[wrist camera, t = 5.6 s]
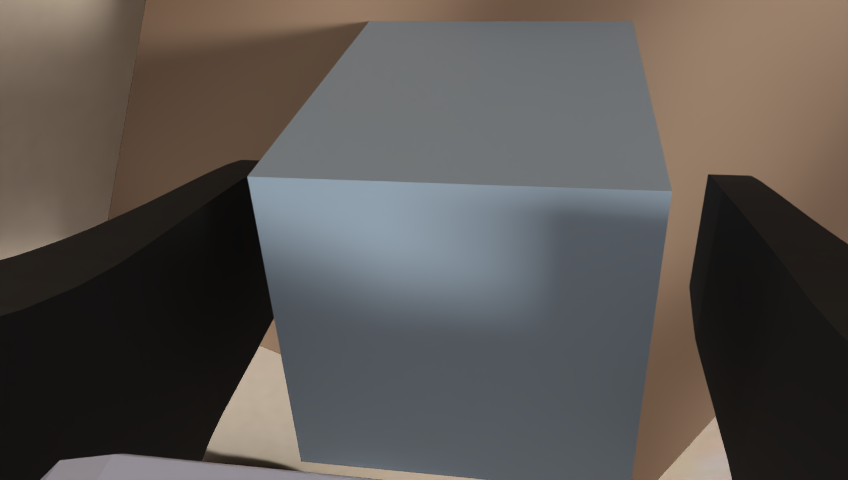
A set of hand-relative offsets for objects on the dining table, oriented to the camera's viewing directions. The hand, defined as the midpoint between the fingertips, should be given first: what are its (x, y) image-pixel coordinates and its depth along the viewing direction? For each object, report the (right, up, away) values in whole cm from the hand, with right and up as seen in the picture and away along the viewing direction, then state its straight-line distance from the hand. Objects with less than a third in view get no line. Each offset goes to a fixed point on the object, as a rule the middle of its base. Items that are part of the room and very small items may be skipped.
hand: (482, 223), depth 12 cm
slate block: (0, +2, +2) cm, 3 cm away
